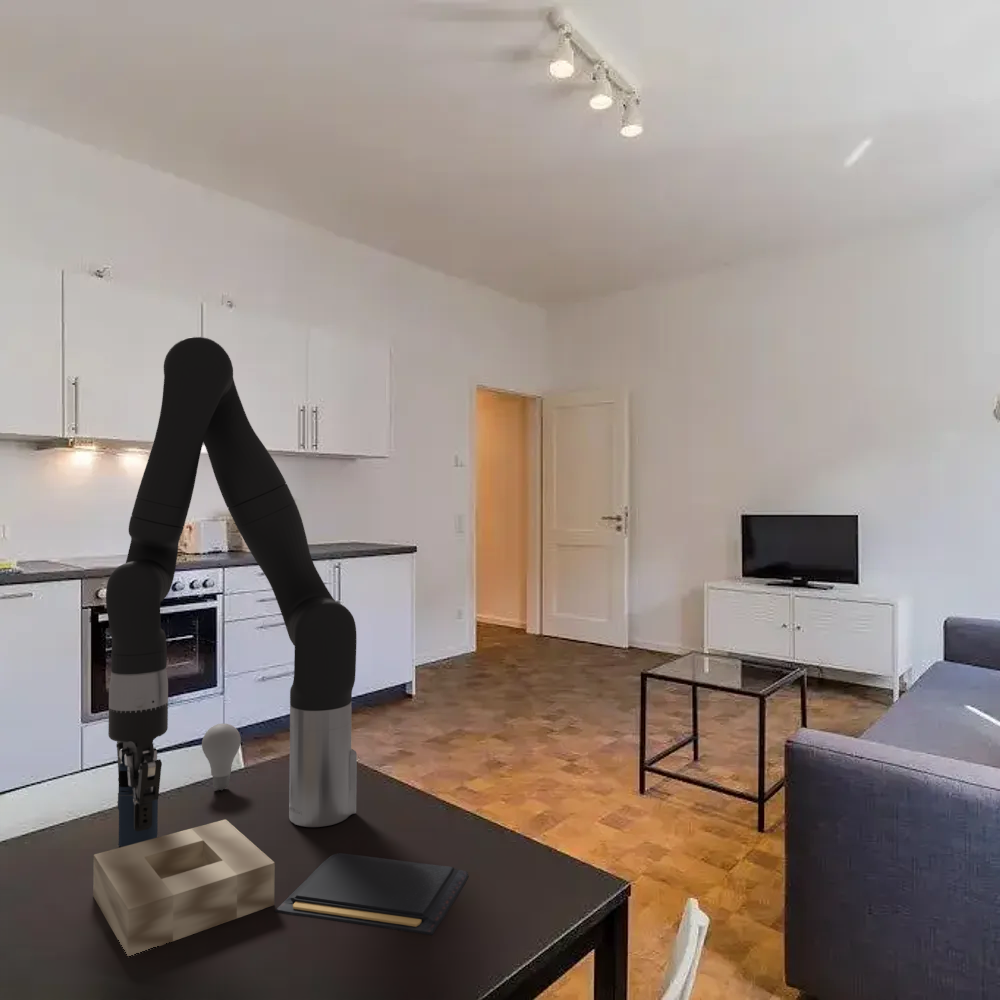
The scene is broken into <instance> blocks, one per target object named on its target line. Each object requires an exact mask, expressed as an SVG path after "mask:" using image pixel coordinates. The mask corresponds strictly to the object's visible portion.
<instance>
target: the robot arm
mask: <svg viewBox="0 0 1000 1000" xmlns="http://www.w3.org/2000/svg"><path fill="white" fill-rule="evenodd" d="M163 376H164V377H163V386H162V389H163V390H162V398H161V399H162V400H161V406H160V412H159V417H158V422H157V423H158V424H157V428H156V431H155V436H154V440H153V443H152V447H151V450H150V453H149V455H148V459H147V463H146V466H145V469H144V470H143V471H144V472H143V475H142V477H141V481H140V484H139V488H138V490H137V494H136V498H135V500H134V504H133V509H132V513H131V516H130V520H129V523H128V534H129V536H130V544H129V549H128V552H127V557H126V560H125V563H123V564H121V565H119V566H117V567H116V568H115V569H114V570H113V572H111V574H110V576H109V578H108V579H107V584H106V590H105V605H106V614H107V619H108V625H109V630H110V635H111V639H112V640H111V650H110V651H111V656H110V657H111V658H110V659H111V660H110V661H111V662H110V663H111V664H110V665H111V666H110V668H111V670H110V671H111V672H110V680H109V686H108V734H107V735H108V737H109V739H110V740H112V741H114V742H116V745H115V746H116V752H117V753H116V754H117V774H118V776H119V764H121V763H122V764H124V759H125V766H126V767H127V773H128V785H129V787H131V788H132V789H133V803H134V829H135V830H136V831H142V830H146V829H149V828H150V827H151V826H152V801H154V800H159V797H160V787H161V786H160V785H161V783H160V782H161V776H162V775H161V773H162V766H163V762H162V760H161V759H158V751H157V748H156V747H155V746H154V740H155V739H156V738H159V737H161V736H163V735H165V734H166V733H167V731H168V728H169V727H168V725H169V724H168V721H169V680H168V673H167V672H168V671H167V658H168V657H167V656H168V655H167V653H168V652H167V651H168V650H167V638H166V637H167V636H166V632H165V630H164V629H162V627H161V624H162V623H161V622H162V621H161V620H162V619H161V602H163V600H165V598H167V596H168V594H169V592H170V590H171V588H172V585H173V582H174V578H175V572H176V566H177V559H178V555H179V543H180V540H181V536H182V533H183V531H184V527H185V524H186V521H187V516H188V513H189V508H190V505H191V501H192V498H193V497H192V496H193V494H194V488H195V484H196V480H197V478H196V477H197V473H198V467H199V462H200V458H201V452H202V448H203V445H204V447H205V449H206V452H207V455H208V459H209V462H210V464H211V468H212V471H213V474H214V477H215V480H216V482H217V486H218V489H219V491H220V493H221V494H220V495H221V496H222V498H223V501H224V503H225V505H226V508H228V512H229V514H230V516H231V518H232V520H233V522H234V524H235V526H236V528H237V530H238V532H239V533H240V536H241V537H242V539H243V541H244V543H245V545H246V547H247V549H248V550H249V552H250V554H251V555H252V557H253V559H254V560H255V561H256V563H257V564H258V566H259V568H260V570H261V571H262V572H263V574H264V576H265V577H266V579H267V581H268V583H269V585H270V587H271V589H272V592H273V595H274V596H275V599H276V602H277V605H278V608H279V610H280V614H281V616H282V619H283V621H284V625H285V628H286V632H287V635H288V637H289V639H290V641H291V643H292V645H293V646H294V659H293V660H294V662H293V663H294V665H293V667H294V668H293V682H292V685H291V687H290V690H289V781H288V782H289V788H288V790H289V792H288V793H289V794H288V795H289V796H288V797H289V798H288V799H289V800H288V808H289V809H288V811H289V812H288V818H289V821H290V822H291V823H292V824H294V825H295V826H296V825H297V826H300V827H306V828H320V827H321V828H322V827H327V826H328V827H329V826H332V825H336V824H339V823H342V822H344V821H345V820H347V819H348V818H349V817H350V816H351V815H354V814H356V813H357V767H358V766H357V763H358V762H357V755H358V754H357V751H356V750H355V749H352V703H353V702H352V698H353V695H352V693H353V688H354V686H355V682H356V670H357V667H356V666H357V626H356V622H355V618H354V615H353V614H352V613H351V611H350V610H349V609H348V608H347V607H346V606H345V605H343V604H341V603H340V602H338V601H336V600H335V599H334V597H333V596H332V594H331V592H330V591H329V589H328V588H327V586H326V585H325V582H324V581H323V579H322V577H321V575H320V573H319V571H318V570H317V567H316V566H315V564H314V562H313V559H312V556H311V551H310V548H309V544H308V539H307V535H306V531H305V527H304V522H303V520H302V516H301V514H300V511H299V508H298V505H297V503H296V500H295V498H294V496H293V494H292V492H291V490H290V488H289V486H288V483H287V481H286V479H285V478H284V475H283V474H282V472H281V470H280V469H279V466H278V465H277V463H276V461H275V460H274V458H273V457H272V456H271V454H270V452H269V450H268V449H267V448H266V447H265V445H264V444H263V442H262V441H261V439H260V438H259V436H258V435H257V433H256V432H255V429H254V428H253V426H252V424H251V422H250V421H249V418H248V416H247V413H246V411H245V408H244V406H243V403H242V400H241V398H240V395H239V392H238V390H237V386H236V383H235V379H234V367H233V362H232V359H231V358H230V355H229V354H228V352H227V351H226V350H225V348H224V347H223V346H222V345H220V343H217V342H216V341H215V340H213V339H210V338H209V337H204V336H190V337H185V338H184V339H181V340H178V342H176V343H175V344H174V345H173V346H172V347H171V348H170V349H169V350H168V352H167V354H166V355H165V357H164V362H163ZM136 777H137V780H135V779H134V778H136ZM117 781H118V782H119V777H118V779H117ZM146 788H148V793H144V789H146Z"/></svg>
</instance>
